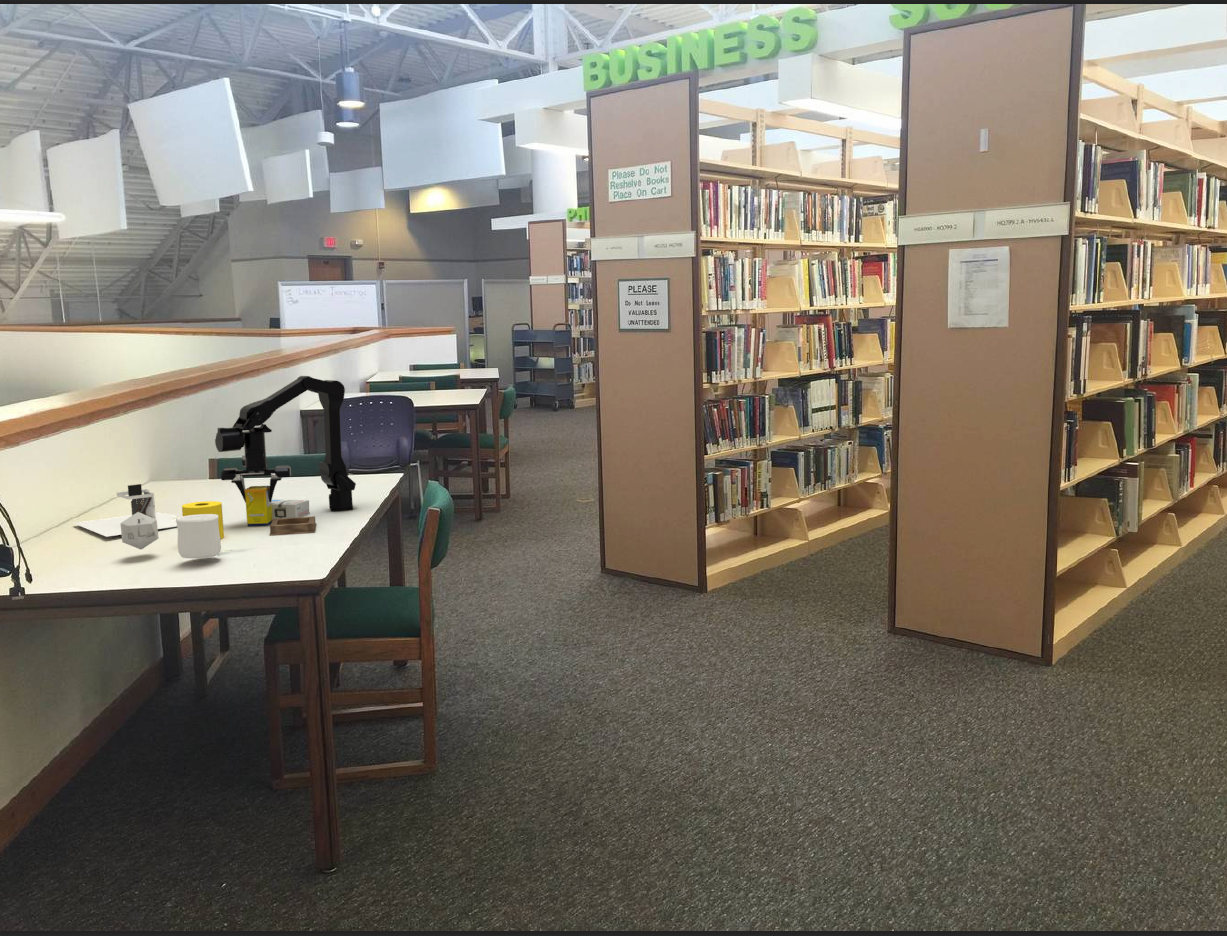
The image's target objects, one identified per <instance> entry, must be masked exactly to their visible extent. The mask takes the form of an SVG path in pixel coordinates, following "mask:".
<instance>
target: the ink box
mask: <svg viewBox="0 0 1227 936" xmlns="http://www.w3.org/2000/svg"><path fill="white" fill-rule="evenodd" d="M271 504H272V518H273V519H279V518H295V517H306V516H308V515H310V514H311V513H310V501H309V499H272V501H271ZM307 514H308V515H307Z"/></svg>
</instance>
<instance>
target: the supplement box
mask: <svg viewBox="0 0 1227 936" xmlns="http://www.w3.org/2000/svg"><path fill="white" fill-rule="evenodd" d="M269 492H270V485H252V486H248V487H247V488H245V499H246V503H245V510H246V512H245V513H246V525H247V527H268V526H270V525H271V523H272V521H273V518H272V504H271V502H270V500H269Z"/></svg>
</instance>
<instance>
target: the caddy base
mask: <svg viewBox="0 0 1227 936" xmlns="http://www.w3.org/2000/svg"><path fill="white" fill-rule="evenodd" d="M317 525H318V524H317V523H316V516H303V517H295V518H279V519H273V521H272V523H270V524H269V534H268V535H269V536H280V535H281V536H282V535H297V534H313V533H316V530H317V529H316V528H317Z"/></svg>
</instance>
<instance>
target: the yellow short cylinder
mask: <svg viewBox="0 0 1227 936" xmlns="http://www.w3.org/2000/svg"><path fill="white" fill-rule="evenodd" d="M181 510H182V511H181V512H182V516H189V515H199V514H216V515H218V516H219V517H218V526H219V534H220V540H221V539H224V538H225V531H224V518H223V504H222V502H221V501H217V500H215V501H213V500H210V501H208V500H205V501H195V502H194V501H193V502H189V503H188V502H187V503H185V504H182V505H181Z"/></svg>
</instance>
